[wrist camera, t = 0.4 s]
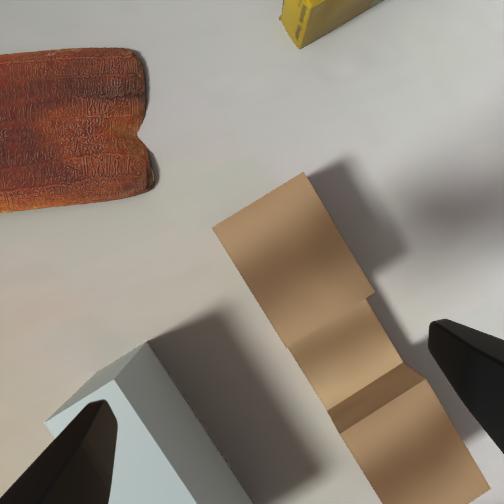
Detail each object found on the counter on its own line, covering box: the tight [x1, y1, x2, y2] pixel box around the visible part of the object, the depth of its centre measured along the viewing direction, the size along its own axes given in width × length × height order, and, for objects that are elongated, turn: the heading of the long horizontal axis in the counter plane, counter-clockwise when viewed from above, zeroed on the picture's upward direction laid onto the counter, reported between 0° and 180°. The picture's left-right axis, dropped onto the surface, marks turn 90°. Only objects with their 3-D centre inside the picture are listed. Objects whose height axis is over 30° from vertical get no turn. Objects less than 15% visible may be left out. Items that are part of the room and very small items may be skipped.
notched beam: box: [212, 172, 491, 504], centre depth 20 cm, size 22×6×4 cm, turn 31°
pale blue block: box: [44, 342, 253, 504], centre depth 19 cm, size 14×4×6 cm, turn 32°
